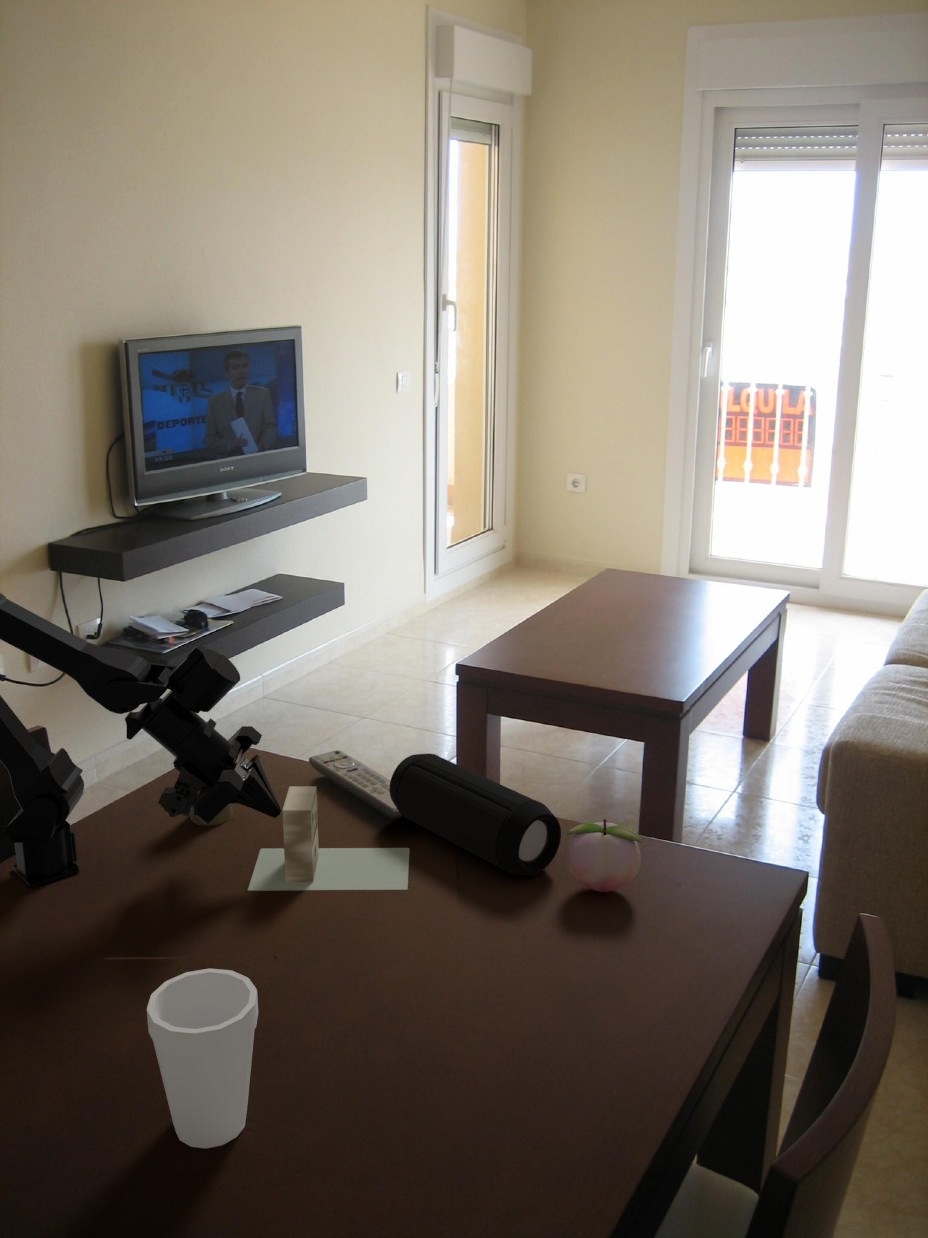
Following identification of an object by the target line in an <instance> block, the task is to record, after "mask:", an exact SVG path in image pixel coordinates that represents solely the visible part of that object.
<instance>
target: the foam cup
mask: <svg viewBox="0 0 928 1238" xmlns="http://www.w3.org/2000/svg"><path fill="white" fill-rule="evenodd" d="M146 1016H147V1028H148V1029H147V1030H148V1034H149V1036H150V1038H151V1040H152V1042H153V1045H154V1051H155V1054H156V1059H157V1062H158V1067H159V1071H160V1075H161V1079H162V1083H163V1087H164V1091H165V1095H166V1101H167V1103H168V1108H169V1112H170V1115H171V1120H172V1124H173V1127H174V1131H175V1133H176V1135H177V1137H178V1140H179V1141H180V1142H182V1143H184V1144H186V1145H187V1146H189V1147H191V1148H199V1149H210V1148H216V1147H220V1146H223V1145H226V1144H227V1143H229V1142H230V1141H232V1140H234V1139H235V1138H237V1137H238V1136H239V1135H240V1134H241V1132H242V1131H243V1130H244V1129H245V1127H246V1121H247V1120H246V1119H247V1113H248V1112H247V1111H248V1102H249V1093H250V1082H251V1081H250V1079H251V1072H252V1071H251V1070H252V1062H253V1061H252V1059H253V1050H254V1049H253V1048H254V1039H255V1029H257V1023H258V1019H259V1018H258V1017H259V1000H258V989H257V988H256V986H255V984H253V982H252V981H251V979H250V978H249V977H247V976H245V975H243V974H241V973H238V972H236V971H234V970H232V969H231V970H230V969H219V968H209V967H208V968H205V969H197V970H193V971H185V972H184V973H182V974H179V975H176V976H175V977H172V978H169V979H168V980H165V981H164V982H163V983H162V984H161V985H160V986H159V987H158V988H156V989H155V990H154V991H153V992H151V994H150V998H149V1000H148V1004H147V1006H146Z"/></svg>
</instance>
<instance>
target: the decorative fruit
mask: <svg viewBox="0 0 928 1238" xmlns="http://www.w3.org/2000/svg"><path fill="white" fill-rule="evenodd" d="M568 835H573V836H572V837H571V839H570V841H569V844H568V848H567V852H566V862H567V863H566V864H567V866H568V870H569V872H570V873H571V875H573V877H574V878H575V879H576V880H577V881H579V883H581V884H582V885H584V886H586V887H587V888H589V889H591V890H593V891H596V892H600V893H608V892H612V891H616V890H617V889H621V888H623V887H624V886H626V885H627V884H629V883H630V882H631V881H633V879H635V877H636V876H637V874H638V873H639V872H640V869H641V864H642V862H641V861H642V858H641V850H640V845H639V844H638V843H643V842H644V841H643V840H642V839H641V837H640V836H639V834H637V832H635V831H634V830H632V829H631V828H630V827H628V826H623V825H619V824H617V823H614V822H613V823H612V822H608V821H607V819H606V818H603V821H599V822H597V821H596V822H592V823H591V822H585V823H581V824H578V825H576V826H574V827H573V828H571V829H570V830H568V831H567V832H566V836H568Z"/></svg>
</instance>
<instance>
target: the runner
mask: <svg viewBox="0 0 928 1238" xmlns="http://www.w3.org/2000/svg"><path fill="white" fill-rule="evenodd" d="M318 848H319V847H318ZM410 849H411V848H410V847H351V848H350V847H347V848H346V847H343V848H342V847H337V848H336V847H331V848H330V847H329V848H327V847H323V848H321V847H320V848H319V857H318V861H317V866H316V871H315V876H314V881H313V882H286V881H285V857H284V847H283V848H267V847H266V848H260V849H259V852H258V856H257V859H256V862H255V866H254V868H253V873H252V875H251V878H250V882H249V886H248V888H247V891H248V892H249V891H251V892H252V891H255V892H256V891H258V892H259V891H261V892H262V891H263V892H264V891H269V892H270V891H272V892H273V891H408V890H409V888H408V886H409V866H410V865H409V864H410Z"/></svg>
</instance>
